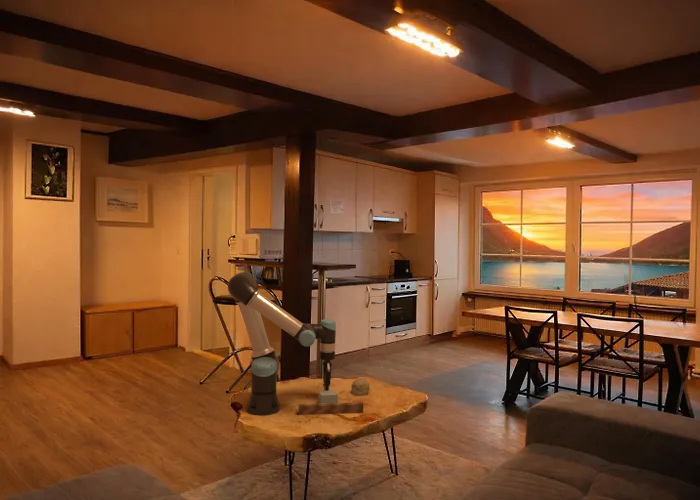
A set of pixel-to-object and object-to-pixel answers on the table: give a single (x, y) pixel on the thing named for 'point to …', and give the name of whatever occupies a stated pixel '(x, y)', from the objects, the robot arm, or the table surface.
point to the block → (328, 396)
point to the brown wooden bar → (330, 408)
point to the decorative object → (360, 387)
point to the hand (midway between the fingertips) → (326, 397)
